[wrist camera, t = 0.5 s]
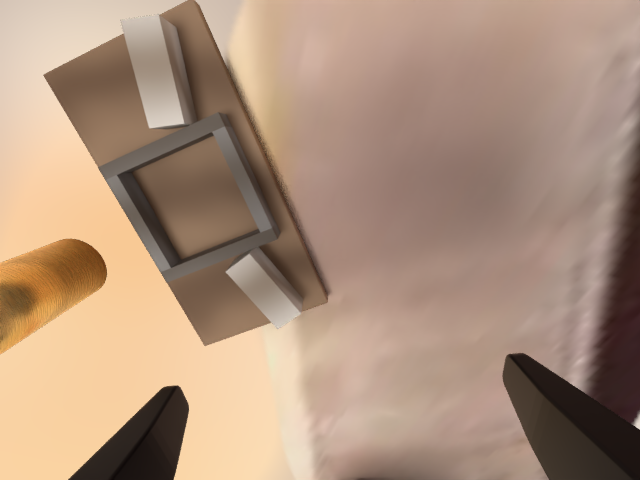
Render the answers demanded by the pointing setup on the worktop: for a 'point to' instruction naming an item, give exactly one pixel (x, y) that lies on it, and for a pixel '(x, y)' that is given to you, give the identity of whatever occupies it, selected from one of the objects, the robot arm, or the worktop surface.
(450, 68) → the worktop surface
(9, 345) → the olive gold cylinder
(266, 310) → the shaft rig
